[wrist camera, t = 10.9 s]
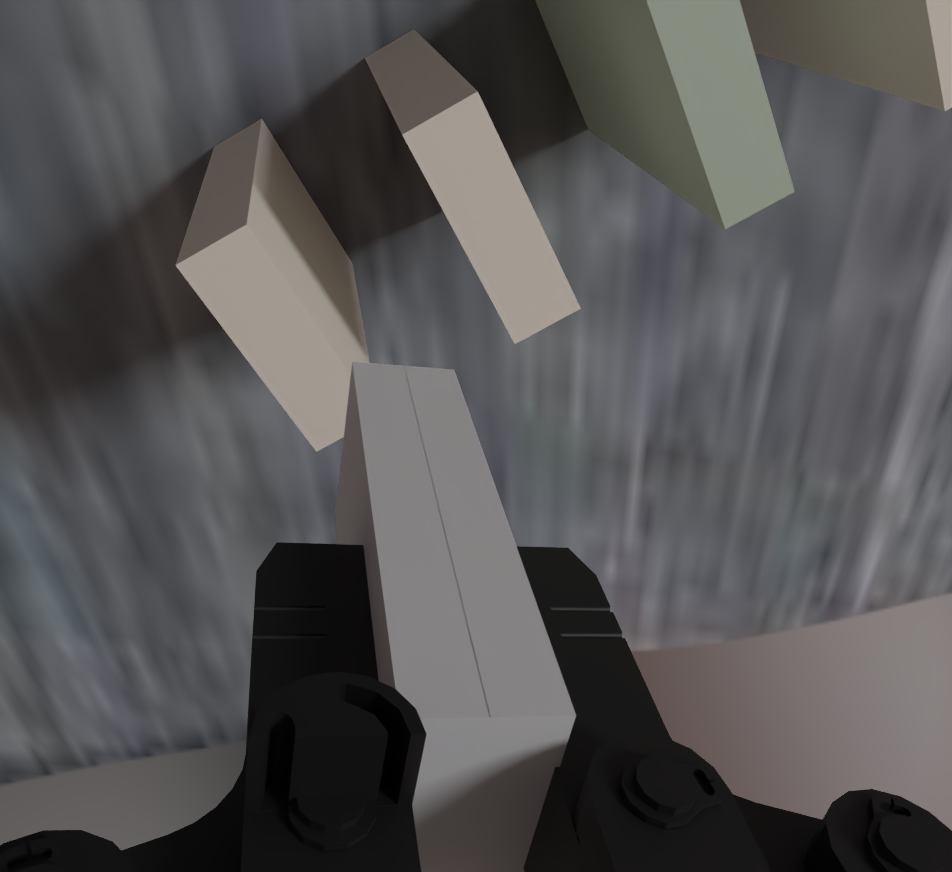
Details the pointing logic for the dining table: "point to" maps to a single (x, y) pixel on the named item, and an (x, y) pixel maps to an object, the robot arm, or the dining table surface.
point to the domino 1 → (276, 280)
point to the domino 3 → (675, 96)
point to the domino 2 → (474, 183)
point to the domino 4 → (862, 42)
